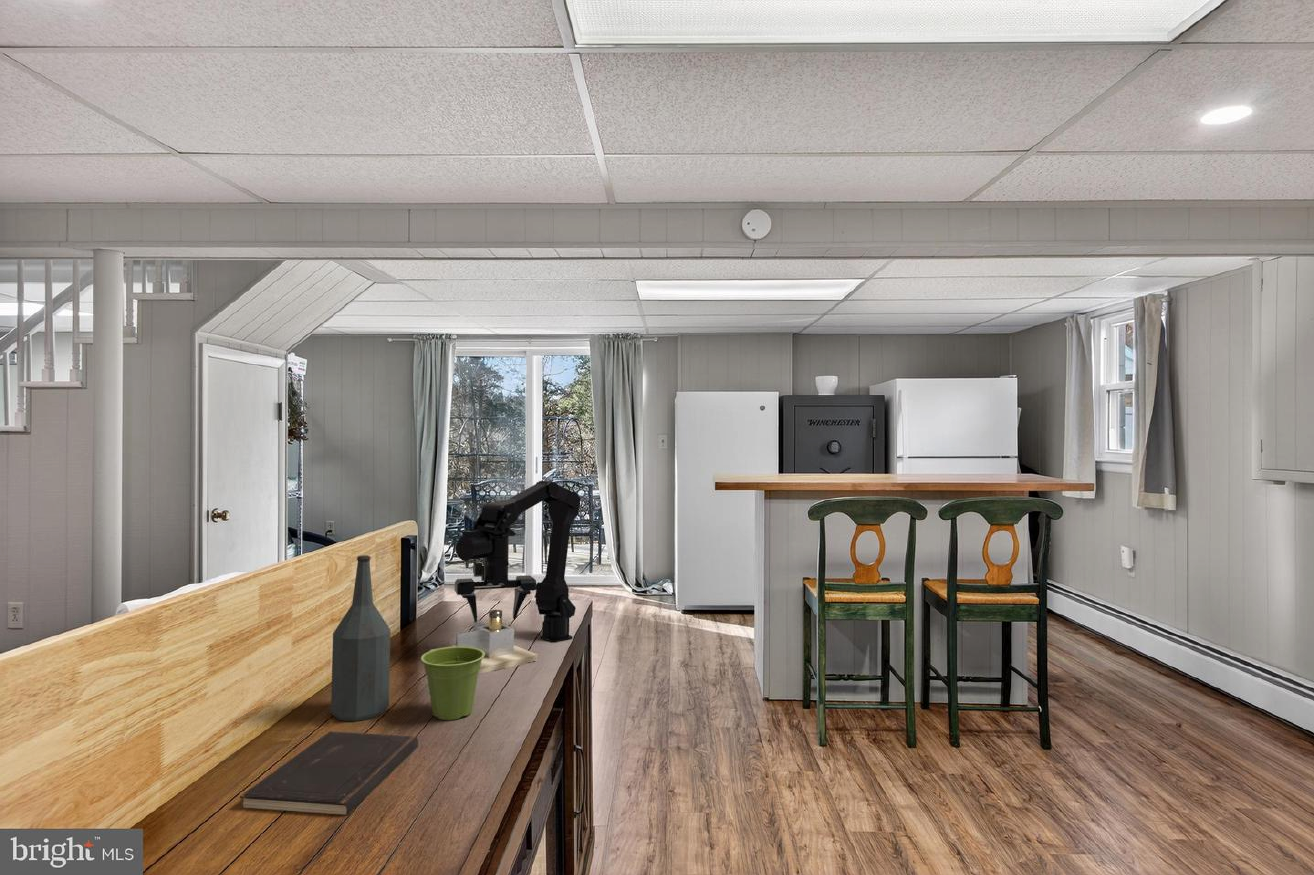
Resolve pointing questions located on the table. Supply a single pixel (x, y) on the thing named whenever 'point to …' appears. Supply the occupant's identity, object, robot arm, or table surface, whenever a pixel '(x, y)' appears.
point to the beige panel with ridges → (494, 647)
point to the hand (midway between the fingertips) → (495, 620)
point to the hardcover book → (331, 773)
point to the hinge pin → (495, 620)
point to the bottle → (361, 655)
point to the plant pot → (452, 680)
